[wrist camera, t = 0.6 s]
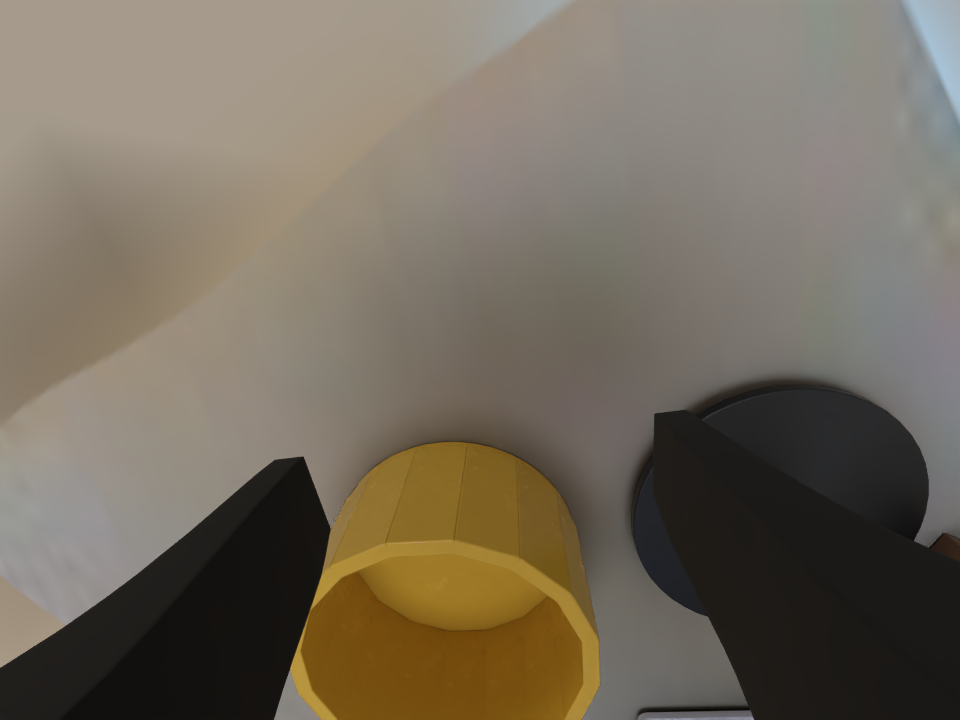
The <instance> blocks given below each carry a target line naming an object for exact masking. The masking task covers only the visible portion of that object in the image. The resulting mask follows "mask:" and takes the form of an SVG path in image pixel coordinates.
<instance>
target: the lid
mask: <svg viewBox="0 0 960 720" xmlns="http://www.w3.org/2000/svg"><path fill="white" fill-rule="evenodd" d="M696 417H698V418H700V419H701V420H703V421H704V422H706V423H707V424H709V425H710V426H712V427H713V428H715V429H716V430H718V431H719V432H721V433H722V434H724V435H725V436H727V437H728V438H730V439H731V440H733V441H734V442H736V443H737V444H739V445H740V446H742V447H744V448H745V449H747V450H748V451H750V452H751V453H753V454H754V455H756V456H758V457H759V458H761V459H762V460H764V461H766V462H767V463H769V464H770V465H772V466H774V467H775V468H777V469H778V470H780V471H782V472H783V473H785V474H787V475H789V476H790V477H792V478H794V479H795V480H797V481H799V482H800V483H802V484H804V485H806V486H807V487H809V488H811V489H813V490H815V491H816V492H818V493H820V494H822V495H823V496H825V497H827V498H829V499H831V500H832V501H834V502H836V503H838V504H840V505H842V506H843V507H845V508H847V509H849V510H851V511H853V512H855V513H857V514H859V515H861V516H863V517H865V518H867V519H869V520H871V521H873V522H875V523H877V524H879V525H881V526H883V527H885V528H887V529H889V530H892V531H894V532H896V533H898V534H900V535H902V536H904V537H906V538H908V539H910V540H912V541H914V539H915V537H916V535H917V533H918V531H919V529H920V527H921V525H922V522H923V519H924V516H925V513H926V508H927V502H928V496H929V479H928V473H927V468H926V463H925V461H924V458H923V455H922V453H921V450H920V448H919V446H918V445H917V443H916V441H915V440H914V438H913V437H912V435H911V434H910V433H909V431H908V430H907V429H906V428H905V427H904V426H903V425H902V424H901V422H899V421H898V420H897V419H896V418H894V417H893V416H892V415H891V414H889V413H888V412H887V411H885V410H884V409H882V408H880V407H879V406H877V405H875V404H873V403H872V402H870V401H868V400H866V399H865V398H862V397H860V396H857V395H855V394H852V393H849V392H847V391H843V390H839V389H835V388H830V387H824V386H815V385H782V386H774V387H766V388H762V389H758V390H753V391H749V392H745V393H742V394H740V395H737V396H734V397H731V398H728V399H726V400H724V401H721V402H719V403H717V404H715V405H713V406H711V407H709V408H707V409H705V410H704V411H702V412H701V413H699V414H698V415H696ZM653 466H654V455H653V457H652V458H651V459H650V461H649V463H648V464H647V466H646V468H645V470H644V471H643V473H642V475H641V478H640V480H639V483H638V485H637V488H636V491H635V495H634V499H633V503H632V513H631V526H632V535H633V539H634V543H635V547H636V550H637V553H638V555H639V558H640V560H641V562H642V565H643V567H644V568H645V570H646V571H647V573H648V575H649V576H650V578H651V579H652V580H653V581H654V582H655V583H656V585H657V586H658V587H659V588H660V589H661V590H662V591H663V592H665V593H666V594H667V595H668V596H669V597H670V598H672V599H673V600H675V601H676V602H678V603H679V604H681V605H682V606H684V607H686V608H688V609H690V610H692V611H694V612H696V613H699V614H702V615H705V616H707V614H706V612H705V610H704V608H703V606H702V604H701V602H700V600H699V598H698V596H697V594H696V592H695V590H694V588H693V586H692V584H691V582H690V580H689V578H688V576H687V574H686V572H685V570H684V568H683V566H682V564H681V562H680V560H679V558H678V556H677V554H676V552H675V550H674V548H673V546H672V543H671V541H670V539H669V537H668V534H667V531H666V529H665V526H664V523H663V520H662V518H661V515H660V512H659V509H658V506H657V503H656V500H655V497H654V494H653Z"/></svg>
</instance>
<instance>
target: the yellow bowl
mask: <svg viewBox="0 0 960 720" xmlns="http://www.w3.org/2000/svg"><path fill="white" fill-rule="evenodd" d="M290 670H291V673H292V676H293V679H294V683H295V686H296V689H297V692H298V693H299V695H300V696H301V697H302V699H303V700H304V701H305V702H306V703H307V704H308V705H309V706H310V707H311V709H312V710H313V711H314V712H315V713H316V714H317V715H318V716H319V718H320V719H321V720H582V718H583V716H584V714H585V712H586V711H587V709H588V707H589V705H590V703H591V702H592V700H593V698H594V696H595V694H596V693H597V691H598V689H599V687H600V651H599V637H598V632H597V627H596V622H595V617H594V612H593V607H592V602H591V597H590V592H589V587H588V583H587V578H586V573H585V568H584V563H583V558H582V553H581V548H580V543H579V538H578V534H577V529H576V525H575V523H574V521H573V519H572V518H571V514H570V512H569V510H568V508H567V506H566V504H565V502H564V500H563V498H562V497H561V495H560V494H559V492H558V491H557V490H556V488H555V487H554V486H553V485H552V484H551V483H550V482H549V481H548V479H547V478H545V477H544V476H543V475H542V474H541V473H540V472H538V471H537V470H536V469H535V468H533V467H532V466H530V465H529V464H527V463H526V462H524V461H523V460H521V459H519V458H517V457H515V456H513V455H511V454H509V453H506V452H504V451H501V450H498V449H495V448H492V447H488V446H484V445H479V444H473V443H464V442H440V443H432V444H425V445H421V446H417V447H413V448H410V449H408V450H405V451H402V452H400V453H397V454H395V455H393V456H392V457H390V458H388V459H386V460H384V461H383V462H381V463H380V464H379V465H377V466H376V467H375V468H373V469H372V470H371V471H370V472H369V473H368V474H367V475H366V476H365V477H364V478H363V479H362V480H361V481H360V483H359V484H358V485H357V487H356V488H355V489H354V491H353V492H352V494H351V495H350V496H349V497H348V498H347V499H346V501H345V503H344V505H343V507H342V509H341V511H340V514H339V516H338V518H337V520H336V522H335V524H334V526H333V528H332V530H331V532H330V536H329V541H328V547H327V552H326V557H325V562H324V566H323V571H322V576H321V579H320V582H319V585H318V588H317V591H316V594H315V597H314V600H313V603H312V606H311V609H310V612H309V615H308V618H307V621H306V624H305V627H304V630H303V633H302V636H301V639H300V641H299V644H298V647H297V650H296V653H295V656H294V659H293V662H292V665H291V668H290Z"/></svg>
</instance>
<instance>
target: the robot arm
mask: <svg viewBox="0 0 960 720" xmlns="http://www.w3.org/2000/svg"><path fill="white" fill-rule="evenodd" d="M653 494H654V497H655V500H656V503H657V506H658V509H659V512H660V515H661V518H662V520H663V523H664V526H665V529H666V531H667V534H668V537H669V539H670V541H671V543H672V546H673V548H674V550H675V552H676V554H677V556H678V558H679V560H680V562H681V564H682V566H683V568H684V570H685V572H686V574H687V576H688V578H689V580H690V582H691V584H692V586H693V588H694V590H695V592H696V594H697V596H698V598H699V600H700V602H701V604H702V606H703V608H704V610H705V612H706V614H707V616H708V618H709V619H710V621H711V623H712V625H713V627H714V629H715V631H716V633H717V635H718V637H719V639H720V641H721V643H722V645H723V647H724V649H725V652H726V654H727V656H728V658H729V660H730V662H731V665H732V667H733V669H734V671H735V673H736V676H737V678H738V681H739V683H740V686H741V688H742V691H743V693H744V696H745V698H746V701H747V703H748V706H749V708H750V710H744V711H693V712H646V713H642V714H640V715H639V716H638V719H637V720H960V561H958V560H955V559H953V558H950V557H948V556H946V555H943V554H941V553H939V552H937V551H934V550H932V549H930V548H928V547H925V546H923V545H921V544H919V543H917V542H914V541H912V540H910V539H908V538H906V537H904V536H902V535H900V534H898V533H896V532H894V531H892V530H889V529H887V528H885V527H883V526H881V525H879V524H877V523H875V522H873V521H871V520H869V519H867V518H865V517H863V516H861V515H859V514H857V513H855V512H853V511H851V510H849V509H847V508H845V507H843V506H842V505H840V504H838V503H836V502H834V501H832V500H831V499H829V498H827V497H825V496H823V495H822V494H820V493H818V492H816V491H815V490H813V489H811V488H809V487H807V486H806V485H804V484H802V483H800V482H799V481H797V480H795V479H794V478H792V477H790V476H789V475H787V474H785V473H783V472H782V471H780V470H778V469H777V468H775V467H774V466H772V465H770V464H769V463H767V462H766V461H764V460H762V459H761V458H759V457H758V456H756V455H754V454H753V453H751V452H750V451H748V450H747V449H745V448H744V447H742V446H740V445H739V444H737V443H736V442H734V441H733V440H731V439H730V438H728V437H727V436H725V435H724V434H722V433H721V432H719V431H718V430H716V429H715V428H713V427H712V426H710V425H709V424H707V423H706V422H704V421H703V420H701V419H700V418H698V417H696V416H695V415H693V414H692V413H690V412H688V411H687V410H681V411H672V412H664V413H656V414H654V466H653ZM330 530H331V529H330V526H329V523H328V521H327V518H326V515H325V513H324V510H323V507H322V505H321V502H320V499H319V497H318V494H317V491H316V489H315V486H314V483H313V481H312V478H311V475H310V473H309V470H308V467H307V465H306V462H305V459H304V457H295V458H286V459H278V460H274V461H273V462H272V463H270V464H269V465H268V466H266V467H265V468H264V469H262V470H261V471H260V472H259V473H258V474H256V475H255V476H254V477H253V478H252V479H250V480H249V481H248V482H247V483H246V484H245V485H243V486H242V487H241V488H240V489H239V490H238V491H236V492H235V493H234V494H233V495H232V496H231V497H230V498H228V499H227V500H226V501H225V502H224V503H223V504H221V505H220V506H219V507H218V508H217V509H216V510H214V511H213V512H212V513H211V514H210V515H209V516H208V517H206V518H205V519H204V520H203V521H202V522H201V523H199V524H198V525H197V526H196V527H195V528H194V529H192V530H191V531H190V532H189V533H188V534H186V535H185V536H184V537H183V538H181V539H180V540H179V541H178V542H177V543H175V544H174V545H173V546H172V547H170V548H169V549H168V550H167V551H165V552H164V553H163V554H162V555H160V556H159V557H158V558H157V559H155V560H154V561H153V562H152V563H150V564H149V565H148V566H147V567H146V568H144V569H143V570H142V571H141V572H139V573H138V574H137V575H136V576H134V577H133V578H132V579H130V580H129V581H128V582H126V583H125V584H124V585H122V586H121V587H120V588H118V589H117V590H116V591H114V592H113V593H112V594H110V595H109V596H107V597H106V598H105V599H103V600H102V601H100V602H99V603H98V604H96V605H95V606H93V607H92V608H91V609H89V610H88V611H86V612H85V613H83V614H82V615H81V616H79V617H78V618H76V619H75V620H74V621H72V622H71V623H69V624H68V625H66V626H65V627H64V628H62V629H60V630H59V631H57V632H56V633H55V634H53V635H51V636H50V637H48V638H47V639H45V640H43V641H42V642H40V643H39V644H37V645H36V646H34V647H32V648H31V649H29V650H28V651H26V652H25V653H23V654H22V655H20V656H18V657H17V658H15V659H14V660H12V661H11V662H9V663H7V664H6V665H4V666H3V667H1V668H0V720H274V717H275V714H276V711H277V708H278V704H279V701H280V698H281V694H282V691H283V688H284V685H285V682H286V679H287V676H288V673H289V671H290V668H291V665H292V662H293V659H294V656H295V653H296V650H297V647H298V644H299V641H300V639H301V636H302V633H303V630H304V627H305V624H306V621H307V618H308V615H309V612H310V609H311V606H312V603H313V600H314V597H315V594H316V591H317V588H318V585H319V582H320V579H321V576H322V571H323V566H324V562H325V557H326V552H327V547H328V541H329V536H330Z"/></svg>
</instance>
